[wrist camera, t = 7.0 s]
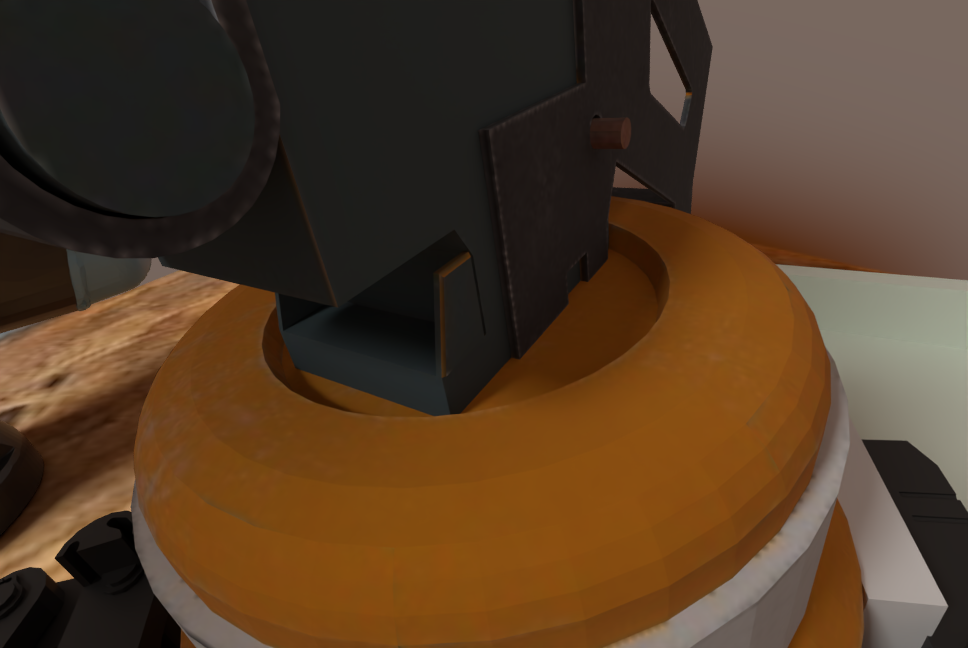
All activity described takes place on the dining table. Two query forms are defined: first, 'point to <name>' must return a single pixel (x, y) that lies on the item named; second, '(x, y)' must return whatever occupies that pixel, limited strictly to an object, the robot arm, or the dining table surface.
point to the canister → (439, 325)
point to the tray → (898, 357)
